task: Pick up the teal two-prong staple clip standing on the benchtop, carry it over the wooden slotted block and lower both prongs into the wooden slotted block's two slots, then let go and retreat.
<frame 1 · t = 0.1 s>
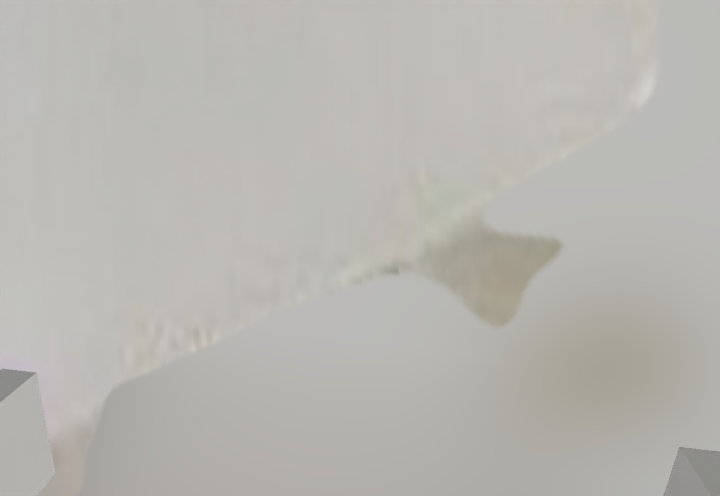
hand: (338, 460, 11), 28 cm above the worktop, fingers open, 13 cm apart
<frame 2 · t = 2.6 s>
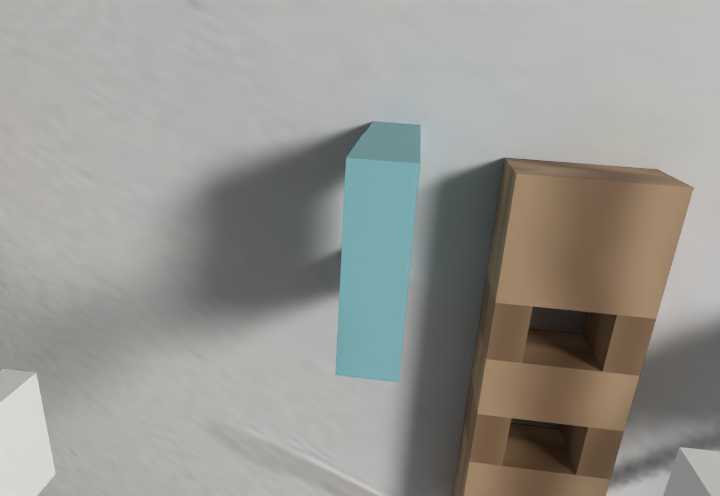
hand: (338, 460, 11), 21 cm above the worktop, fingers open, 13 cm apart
clip: (390, 201, 30), on the worktop
wooden slotted block: (540, 356, 33), on the worktop
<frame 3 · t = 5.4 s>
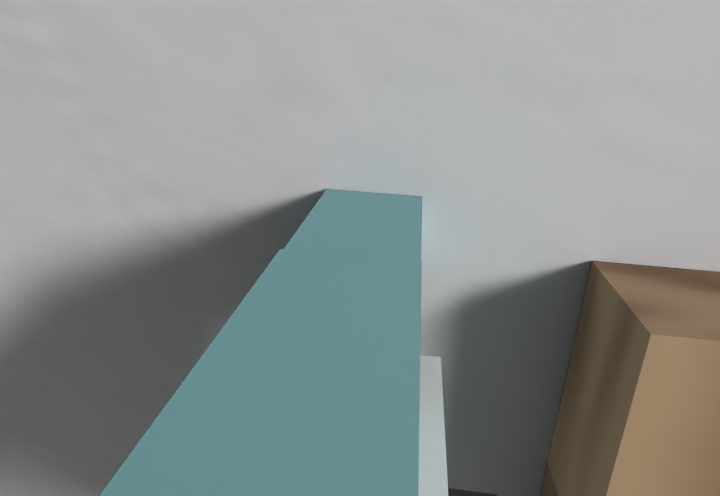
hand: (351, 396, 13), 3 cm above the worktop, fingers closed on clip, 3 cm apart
clip: (364, 335, 16), on the worktop, touching gripper
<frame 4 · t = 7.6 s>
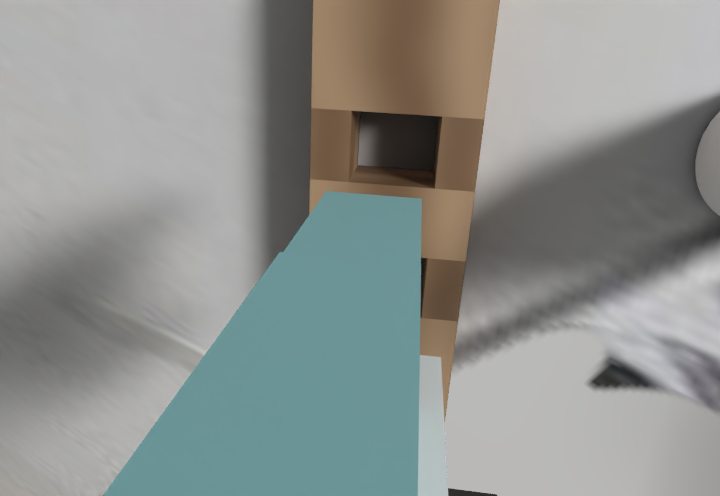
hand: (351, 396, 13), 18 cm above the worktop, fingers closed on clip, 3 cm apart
clip: (364, 337, 16), point 15 cm above the worktop, touching gripper
wooden slotted block: (392, 199, 30), on the worktop
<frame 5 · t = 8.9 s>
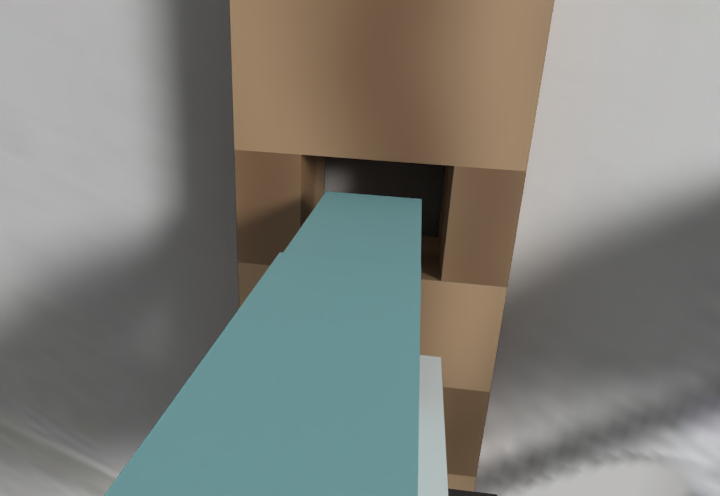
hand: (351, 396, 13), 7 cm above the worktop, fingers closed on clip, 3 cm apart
clip: (364, 337, 16), point 4 cm above the worktop, touching gripper
wooden slotted block: (376, 276, 20), on the worktop
when the fingers open (4 cm above the worktop, at t = 10.0 s): clip drops 1 cm, on the worktop.
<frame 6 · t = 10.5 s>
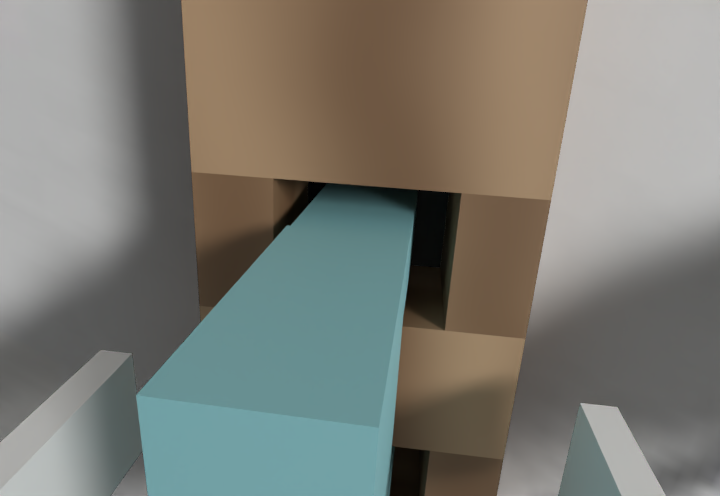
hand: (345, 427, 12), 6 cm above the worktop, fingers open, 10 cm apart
clip: (366, 313, 17), on the worktop
wooden slotted block: (369, 312, 17), on the worktop
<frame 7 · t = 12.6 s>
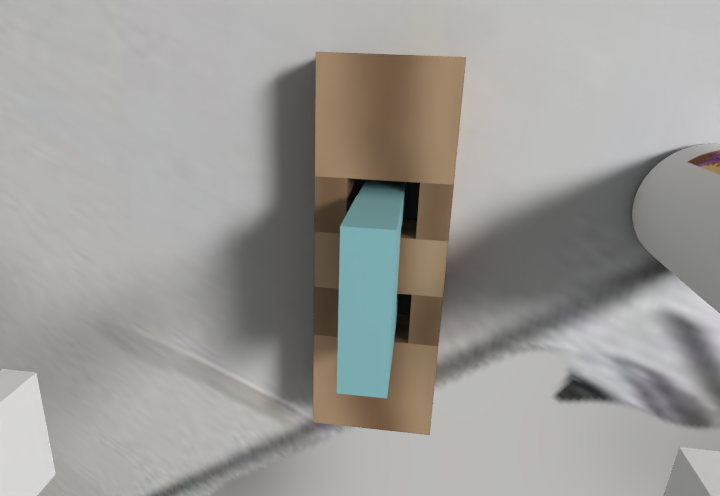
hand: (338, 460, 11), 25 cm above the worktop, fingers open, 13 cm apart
milk bottle: (693, 203, 33), on the worktop
clip: (383, 244, 36), on the worktop
wooden slotted block: (384, 243, 36), on the worktop
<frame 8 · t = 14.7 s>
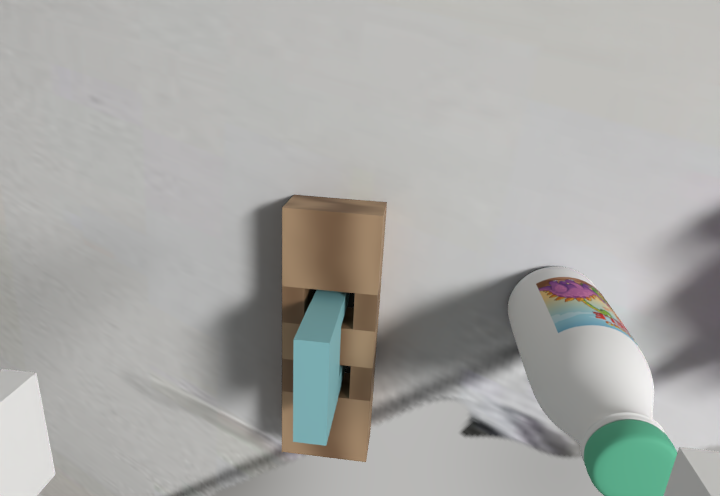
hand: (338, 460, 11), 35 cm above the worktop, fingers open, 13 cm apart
milk bottle: (551, 303, 47), on the worktop
clip: (334, 323, 49), on the worktop
wooden slotted block: (334, 323, 49), on the worktop
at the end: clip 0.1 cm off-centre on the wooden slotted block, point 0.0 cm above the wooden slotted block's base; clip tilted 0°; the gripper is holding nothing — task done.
